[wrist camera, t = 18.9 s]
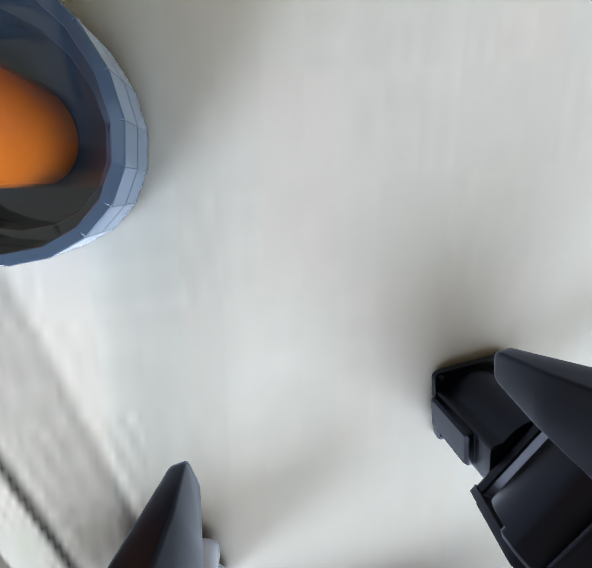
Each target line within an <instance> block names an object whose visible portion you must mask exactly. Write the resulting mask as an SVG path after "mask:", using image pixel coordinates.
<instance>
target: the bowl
mask: <svg viewBox="0 0 592 568" xmlns="http://www.w3.org/2000/svg"><path fill="white" fill-rule="evenodd" d="M0 62H1V63H3V64H5V65H7V66H9V67H11V68H13V69H15V70H17V71H19V72H20V73H22V74H24V75H26V76H28V77H30V78H32V79H34V80H36V81H38V82H39V83H41V84H43V85H44V86H46V87H47V88H48V89H50V90H51V91H52V92H53V93H54V94H55V95H56V96H57V97H58V98H59V99H60V100H61V101H62V102H63V103H64V105H65V106H66V108H67V109H68V111H69V113H70V114H71V116H72V118H73V121H74V123H75V126H76V129H77V133H78V139H79V149H78V155H77V159H76V162H75V164H74V166H73V168H72V169H71V171H70V172H69V173H68V174H67V175H66V176H65V177H64V178H63V179H61V180H60V181H58V182H57V183H55V184H52V185H50V186H46V187H41V188H0V266H13V265H18V264H23V263H28V262H33V261H38V260H43V259H49V258H51V257H54V256H57V255H60V254H62V253H65V252H68V251H70V250H73V249H76V248H78V247H81V246H84V245H86V244H88V243H90V242H92V241H93V240H95V239H97V238H99V237H100V236H102V235H104V234H106V233H107V232H109V231H111V230H113V229H114V228H116V226H117V225H118V224H119V223H120V222H121V220H122V219H123V218H124V217H125V216H126V215H127V213H128V212H129V211H130V210H131V209H132V207H133V206H134V205H135V204H136V201H137V199H138V196H139V193H140V190H141V187H142V185H143V182H144V179H145V176H146V173H147V170H148V133H147V128H146V125H145V122H144V118H143V115H142V112H141V108H140V105H139V101H138V98H137V95H136V93H135V90H134V89H133V87H132V85H131V84H130V82H129V81H128V79H127V77H126V76H125V74H124V72H123V71H122V69H121V68H120V66H119V64H118V63H117V61H116V60H115V58H114V56H113V55H112V53H111V52H110V51H109V50H108V49H107V48H106V47H105V46H104V45H103V44H102V43H101V42H100V41H99V40H98V39H97V38H96V37H95V36H94V35H93V34H92V33H91V32H90V31H89V30H88V29H87V28H86V27H85V26H84V25H83V23H82V22H81V21H80V20H79V19H78V18H77V17H76V16H75V15H74V14H73V13H72V12H70V11H69V10H68V9H67V8H66V7H65V6H64V5H63V4H62V3H61V2H60V1H59V0H0Z"/></svg>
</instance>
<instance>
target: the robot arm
mask: <svg viewBox="0 0 592 568" xmlns="http://www.w3.org/2000/svg"><path fill="white" fill-rule="evenodd" d="M439 376H440V377H439ZM438 377H439V378H438ZM432 392H433V397H432V400H431V403H432V424H433V425H434V433H435V435H436V436H437V437H438V438H439V439H445V440H446V442H447V443H448V444H449V445H450V447H451V448H452V449H453V450H454V452H455V453H456V454H457V455H458V457H459V458H460V459H461V460H462V462H463V463H465V464H466V465H471V464H472V465H473V466H474V467H475V468H476V470H477V471H478V472H479V473H480V474H481V476H482V477H483V479H482V481H481V482H480V483H479V484H478V485H475V486H474V487H473V488H472V489H471V490H470V492H471V493H472V495H473V497H474V499H475V501H476V502H477V503H476V504H477V506H478V508H479V509H480V511H481V513H482V515H483V517H484V518H485V520H486V522H487V524H488V526H489V527H490V529H491V531H492V533H493V535H494V536H495V538H496V540H497V542H498V543H499V545H500V547H501V549H502V551H503V552H504V554H505V556H506V558H507V560H508V561H509V563H510V564H511V566H512V567H513V568H592V367H588V366H584V365H580V364H575V363H571V362H567V361H563V360H559V359H555V358H550V357H546V356H542V355H538V354H534V353H530V352H526V351H521V350H517V349H513V348H506V349H503V350H501V351H498V352H496V354H495V355H493V356H489V357H485V358H481V359H478V360H474V361H470V362H466V363H462V364H458V365H454V366H451V367H447V368H443V369H439V370H436V371H435V372H434V373H433V374H432ZM108 568H203V541H202V519H201V497H200V486H199V483H198V480H197V478H196V476H195V474H194V472H193V470H192V468H191V466H190V464H189V463H188V462H187V461H184V462H181V463H178V464H175V465H173V466H171V467H170V468H169V469H168V471H167V473H166V474H165V476H164V477H163V479H162V481H161V482H160V484H159V486H158V487H157V489H156V490H155V492H154V494H153V495H152V497H151V498H150V500H149V502H148V503H147V505H146V506H145V508H144V510H143V511H142V513H141V515H140V516H139V518H138V519H137V521H136V523H135V524H134V526H133V527H132V529H131V531H130V532H129V534H128V536H127V537H126V539H125V540H124V542H123V544H122V545H121V547H120V548H119V550H118V552H117V553H116V555H115V556H114V558H113V560H112V561H111V563H110V565H109V566H108Z"/></svg>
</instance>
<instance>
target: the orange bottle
mask: <svg viewBox="0 0 592 568" xmlns="http://www.w3.org/2000/svg"><path fill="white" fill-rule="evenodd" d="M78 149H79V139H78V133H77V129H76V126H75V123H74V121H73V118H72V116H71V114H70V113H69V111H68V109H67V108H66V106H65V105H64V103H63V102H62V101H61V100H60V99H59V98H58V97H57V96H56V95H55V94H54V93H53V92H52V91H51V90H50V89H48V88H47V87H46V86H44V85H43V84H41V83H39V82H38V81H36V80H34V79H32V78H30V77H28V76H26V75H24V74H22V73H20V72H19V71H17V70H15V69H13V68H11V67H9V66H7V65H5V64H3V63H1V62H0V188H41V187H46V186H50V185H52V184H55V183H57V182H58V181H60V180H61V179H63V178H64V177H65V176H66V175H67V174H68V173H69V172H70V171H71V169H72V168H73V166H74V164H75V162H76V159H77V155H78Z"/></svg>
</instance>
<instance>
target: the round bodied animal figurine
mask: <svg viewBox="0 0 592 568" xmlns="http://www.w3.org/2000/svg"><path fill="white" fill-rule="evenodd" d="M202 541H203V568H225V567H224V566H223V565H221V564H219V559H220V549H219V544H218V542H217V541H216V540H214V539H210V538H202Z"/></svg>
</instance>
